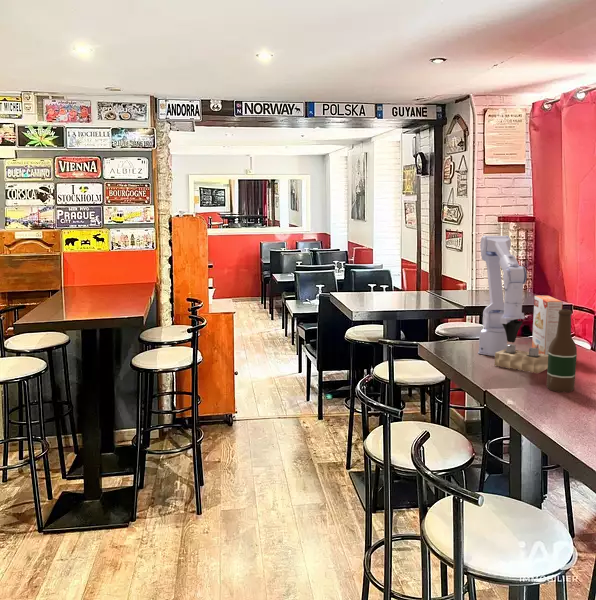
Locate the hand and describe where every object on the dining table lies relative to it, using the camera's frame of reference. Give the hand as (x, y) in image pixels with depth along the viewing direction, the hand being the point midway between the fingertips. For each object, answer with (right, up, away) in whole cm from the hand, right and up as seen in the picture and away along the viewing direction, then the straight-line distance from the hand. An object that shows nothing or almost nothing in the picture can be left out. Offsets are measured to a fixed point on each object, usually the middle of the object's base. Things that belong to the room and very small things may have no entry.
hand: (511, 341), depth 223 cm
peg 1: (0, -6, +1) cm, 6 cm away
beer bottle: (+6, -13, -27) cm, 31 cm away
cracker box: (+18, -6, +18) cm, 26 cm away
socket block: (+3, -8, -1) cm, 9 cm away
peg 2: (+6, -6, -4) cm, 10 cm away
